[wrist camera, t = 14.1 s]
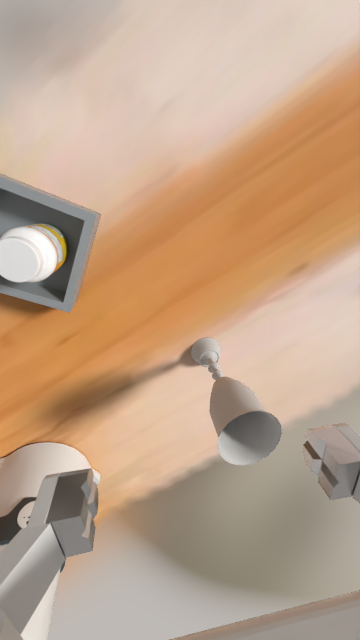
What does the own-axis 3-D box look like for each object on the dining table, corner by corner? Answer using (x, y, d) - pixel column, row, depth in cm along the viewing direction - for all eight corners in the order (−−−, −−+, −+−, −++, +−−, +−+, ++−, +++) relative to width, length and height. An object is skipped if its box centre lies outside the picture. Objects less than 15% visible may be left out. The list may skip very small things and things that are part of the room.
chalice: (183, 334, 41) (216, 418, 25) (225, 328, 42) (283, 405, 26) (187, 373, 44) (218, 471, 28) (226, 366, 45) (279, 457, 29)
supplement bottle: (30, 270, 33) (-7, 293, 24) (17, 225, 31) (-30, 232, 22) (75, 266, 34) (54, 286, 25) (64, 221, 32) (38, 226, 23)
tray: (76, 300, 37) (69, 312, 32) (-22, 271, 33) (-44, 280, 29) (101, 214, 33) (96, 215, 29) (-7, 170, 29) (-30, 165, 25)
